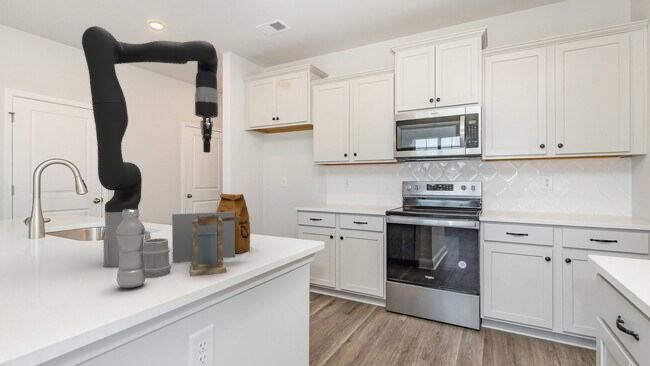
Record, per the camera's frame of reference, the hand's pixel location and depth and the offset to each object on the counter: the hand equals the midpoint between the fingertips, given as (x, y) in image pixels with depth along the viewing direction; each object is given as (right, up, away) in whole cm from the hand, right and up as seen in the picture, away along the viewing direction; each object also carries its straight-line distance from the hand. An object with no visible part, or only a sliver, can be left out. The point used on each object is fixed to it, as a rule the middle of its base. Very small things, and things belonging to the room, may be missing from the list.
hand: (206, 152), depth 112 cm
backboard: (0, -37, -2) cm, 37 cm away
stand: (+6, -37, -15) cm, 41 cm away
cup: (+2, -37, -7) cm, 38 cm away
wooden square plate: (+9, -23, -13) cm, 28 cm away
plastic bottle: (-9, -38, -29) cm, 49 cm away
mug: (-10, -38, -17) cm, 42 cm away
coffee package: (+6, -37, +11) cm, 39 cm away
